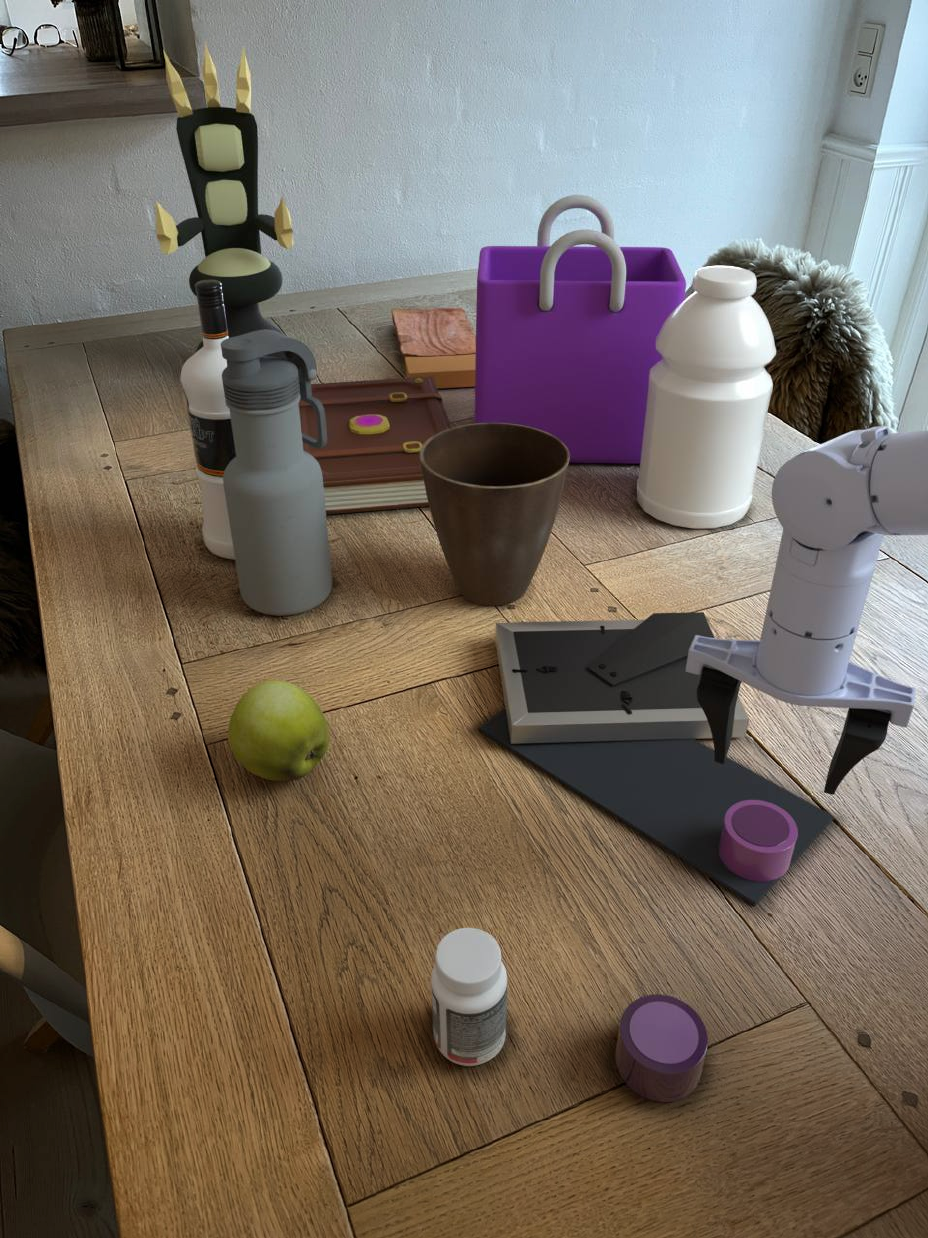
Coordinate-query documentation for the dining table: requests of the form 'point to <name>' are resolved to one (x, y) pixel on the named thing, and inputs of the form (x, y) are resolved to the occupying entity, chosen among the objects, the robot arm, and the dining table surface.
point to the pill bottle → (469, 997)
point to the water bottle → (275, 475)
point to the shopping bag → (573, 335)
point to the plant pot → (493, 504)
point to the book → (374, 441)
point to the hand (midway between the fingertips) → (775, 769)
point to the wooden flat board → (437, 345)
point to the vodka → (210, 417)
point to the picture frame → (604, 680)
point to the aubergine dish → (661, 1047)
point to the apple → (278, 731)
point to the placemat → (668, 794)
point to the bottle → (707, 404)
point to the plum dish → (757, 840)
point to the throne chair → (226, 200)
